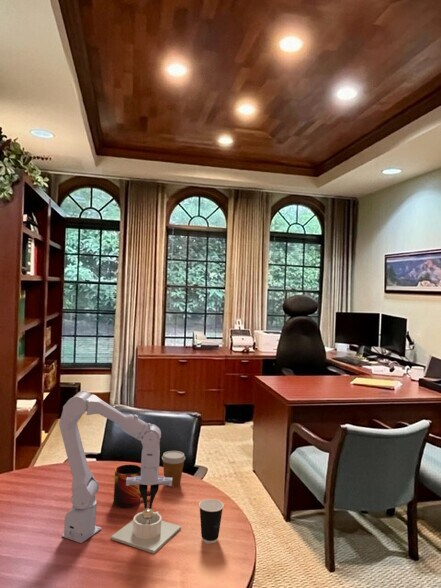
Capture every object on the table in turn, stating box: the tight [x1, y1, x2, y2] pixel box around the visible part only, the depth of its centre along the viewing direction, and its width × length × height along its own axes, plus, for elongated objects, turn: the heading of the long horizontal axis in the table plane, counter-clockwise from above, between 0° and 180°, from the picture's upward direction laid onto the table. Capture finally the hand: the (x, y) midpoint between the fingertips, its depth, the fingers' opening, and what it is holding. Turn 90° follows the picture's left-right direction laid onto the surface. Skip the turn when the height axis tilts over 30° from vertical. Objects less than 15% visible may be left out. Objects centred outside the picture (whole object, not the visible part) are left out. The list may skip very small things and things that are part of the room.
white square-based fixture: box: [110, 511, 182, 554], centre depth 140 cm, size 16×16×5 cm
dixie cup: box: [198, 498, 225, 545], centre depth 139 cm, size 8×8×11 cm
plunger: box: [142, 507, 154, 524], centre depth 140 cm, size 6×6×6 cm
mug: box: [113, 464, 151, 510], centre depth 163 cm, size 10×14×12 cm
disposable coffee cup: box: [161, 450, 186, 488], centre depth 178 cm, size 10×10×12 cm
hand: (148, 507), depth 140 cm, fingers closed
